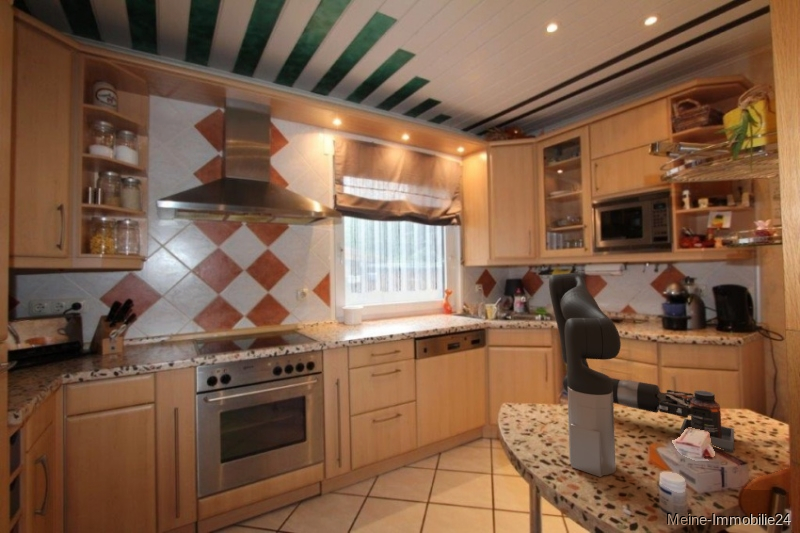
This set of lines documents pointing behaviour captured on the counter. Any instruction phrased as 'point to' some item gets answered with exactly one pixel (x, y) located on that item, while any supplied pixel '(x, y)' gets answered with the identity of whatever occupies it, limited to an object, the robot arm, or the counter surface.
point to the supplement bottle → (710, 425)
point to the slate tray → (723, 443)
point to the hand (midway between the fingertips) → (713, 409)
